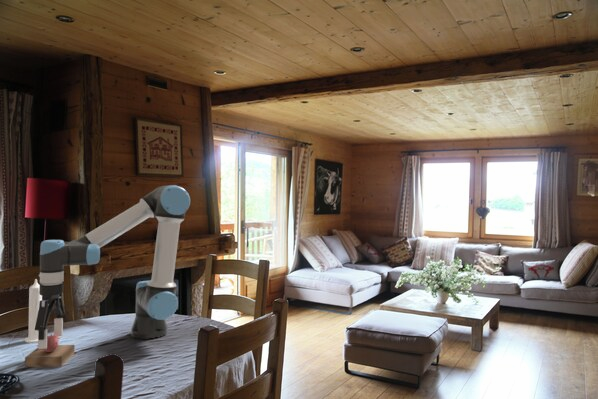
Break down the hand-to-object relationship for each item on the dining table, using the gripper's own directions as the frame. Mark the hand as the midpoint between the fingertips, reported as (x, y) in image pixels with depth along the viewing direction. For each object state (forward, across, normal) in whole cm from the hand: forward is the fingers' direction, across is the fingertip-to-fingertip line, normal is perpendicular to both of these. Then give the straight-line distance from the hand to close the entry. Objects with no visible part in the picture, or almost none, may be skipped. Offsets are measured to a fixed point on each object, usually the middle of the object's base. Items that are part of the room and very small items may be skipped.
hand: (50, 341), depth 161 cm
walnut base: (+7, 0, 0) cm, 7 cm away
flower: (+4, +1, 0) cm, 4 cm away
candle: (+7, -23, -15) cm, 28 cm away
